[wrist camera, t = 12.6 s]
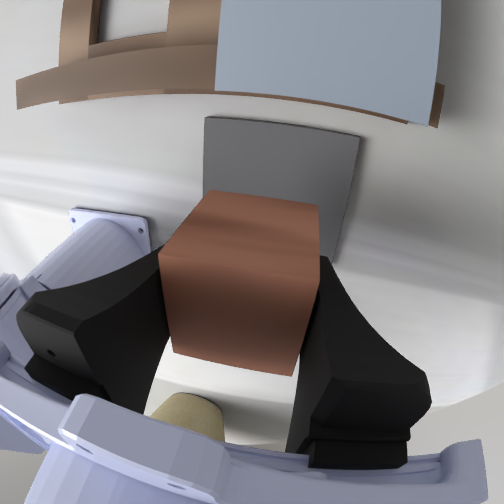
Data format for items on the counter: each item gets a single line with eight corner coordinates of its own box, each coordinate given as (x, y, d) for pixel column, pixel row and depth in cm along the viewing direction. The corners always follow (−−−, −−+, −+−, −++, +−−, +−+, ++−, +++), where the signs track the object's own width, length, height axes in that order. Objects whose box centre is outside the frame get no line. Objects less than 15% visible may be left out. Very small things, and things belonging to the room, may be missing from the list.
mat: (330, 263, 21) (330, 267, 20) (205, 242, 22) (203, 247, 21) (358, 136, 16) (359, 137, 15) (207, 116, 17) (204, 117, 16)
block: (300, 290, 14) (292, 376, 10) (209, 275, 15) (173, 352, 11) (318, 205, 12) (319, 281, 8) (210, 189, 12) (157, 253, 8)
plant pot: (169, 360, 31) (114, 485, 18) (271, 415, 34) (248, 529, 21) (131, 393, 39) (91, 479, 26) (212, 435, 42) (187, 519, 29)
